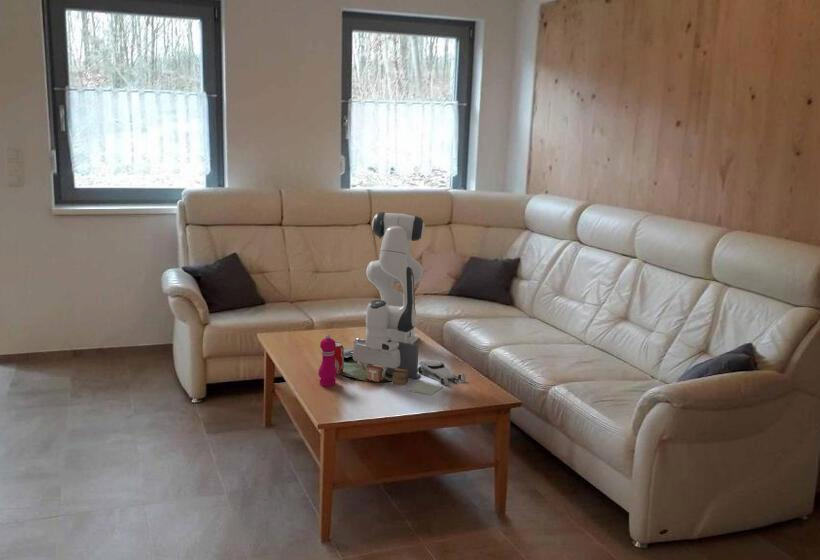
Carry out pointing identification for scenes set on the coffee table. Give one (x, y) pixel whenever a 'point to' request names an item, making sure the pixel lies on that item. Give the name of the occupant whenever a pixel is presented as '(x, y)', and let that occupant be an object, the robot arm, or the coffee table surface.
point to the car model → (440, 373)
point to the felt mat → (425, 388)
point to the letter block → (374, 373)
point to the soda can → (338, 357)
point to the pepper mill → (327, 362)
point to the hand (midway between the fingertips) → (375, 374)
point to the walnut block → (400, 377)
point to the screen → (407, 360)
